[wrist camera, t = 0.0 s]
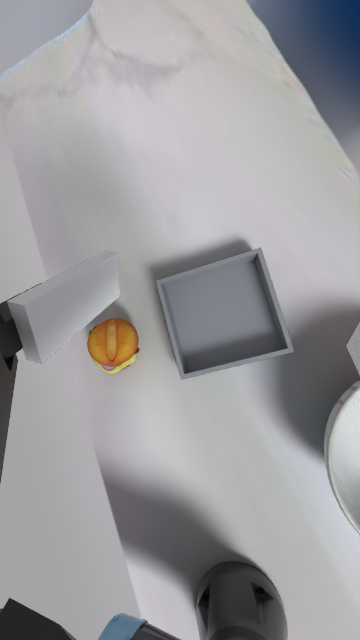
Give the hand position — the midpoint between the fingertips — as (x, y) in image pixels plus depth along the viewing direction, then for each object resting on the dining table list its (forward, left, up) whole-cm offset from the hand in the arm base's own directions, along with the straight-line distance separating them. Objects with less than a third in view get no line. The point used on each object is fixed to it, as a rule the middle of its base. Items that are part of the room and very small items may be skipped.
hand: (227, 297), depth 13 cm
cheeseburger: (+3, +22, -36) cm, 43 cm away
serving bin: (+3, 0, -36) cm, 36 cm away
